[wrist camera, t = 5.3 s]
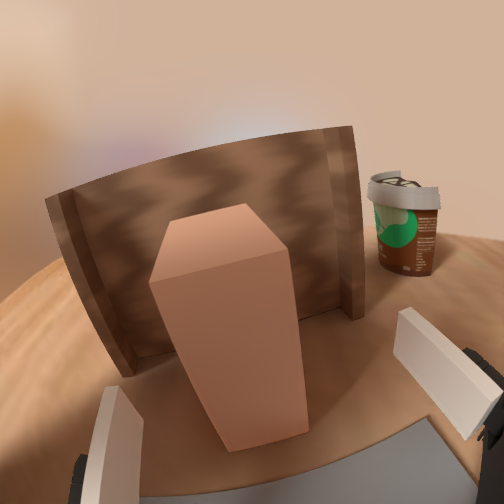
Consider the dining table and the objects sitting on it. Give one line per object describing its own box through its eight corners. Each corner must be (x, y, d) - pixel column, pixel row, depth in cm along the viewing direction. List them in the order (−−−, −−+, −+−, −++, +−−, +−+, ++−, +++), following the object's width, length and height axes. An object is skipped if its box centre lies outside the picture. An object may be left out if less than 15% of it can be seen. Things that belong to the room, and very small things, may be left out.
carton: (228, 452, 14) (148, 282, 9) (214, 361, 22) (169, 221, 18) (309, 431, 14) (288, 248, 10) (273, 346, 23) (245, 203, 18)
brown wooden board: (123, 377, 21) (44, 199, 15) (128, 353, 24) (64, 191, 19) (363, 316, 24) (352, 125, 18) (346, 298, 27) (330, 128, 21)
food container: (361, 244, 38) (355, 173, 34) (401, 240, 36) (398, 169, 33) (383, 290, 27) (382, 192, 23) (435, 282, 25) (440, 188, 22)
